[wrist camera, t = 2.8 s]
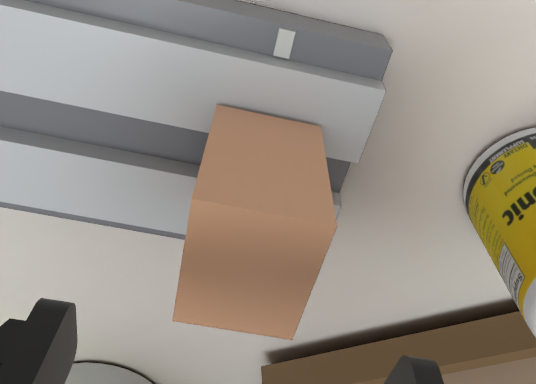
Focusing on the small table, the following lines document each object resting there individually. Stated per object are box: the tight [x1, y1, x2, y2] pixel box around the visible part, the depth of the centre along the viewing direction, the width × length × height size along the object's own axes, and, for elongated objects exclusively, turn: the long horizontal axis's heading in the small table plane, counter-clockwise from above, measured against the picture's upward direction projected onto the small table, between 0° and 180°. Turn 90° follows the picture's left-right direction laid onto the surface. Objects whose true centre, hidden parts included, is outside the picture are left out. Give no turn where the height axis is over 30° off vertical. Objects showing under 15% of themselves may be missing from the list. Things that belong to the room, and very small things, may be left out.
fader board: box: [0, 0, 393, 240], centre depth 20 cm, size 20×11×3 cm, turn 78°
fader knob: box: [173, 105, 337, 340], centre depth 17 cm, size 4×5×7 cm
